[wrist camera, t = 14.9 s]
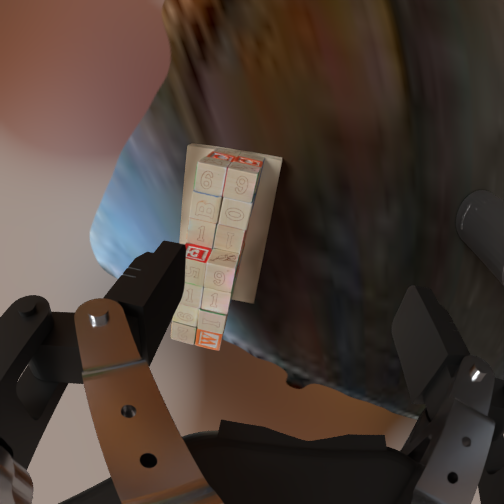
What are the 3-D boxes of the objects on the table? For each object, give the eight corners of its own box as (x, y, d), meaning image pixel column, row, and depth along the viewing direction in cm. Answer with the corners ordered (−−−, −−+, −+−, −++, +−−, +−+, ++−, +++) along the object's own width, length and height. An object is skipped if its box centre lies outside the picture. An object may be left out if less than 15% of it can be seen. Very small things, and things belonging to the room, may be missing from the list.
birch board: (282, 157, 40) (282, 160, 38) (254, 295, 50) (253, 303, 49) (191, 143, 40) (187, 145, 38) (181, 281, 50) (177, 288, 49)
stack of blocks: (216, 145, 38) (188, 167, 27) (266, 156, 38) (258, 182, 27) (193, 285, 48) (169, 340, 37) (233, 295, 48) (218, 353, 37)
